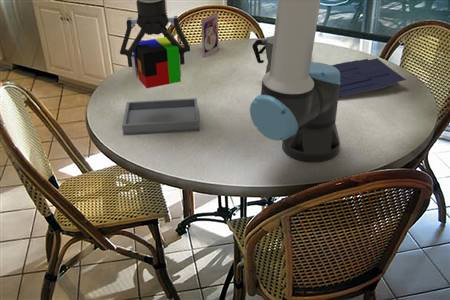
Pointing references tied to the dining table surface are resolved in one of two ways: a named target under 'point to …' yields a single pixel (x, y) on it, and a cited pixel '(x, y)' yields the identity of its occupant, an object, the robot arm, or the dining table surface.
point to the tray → (161, 116)
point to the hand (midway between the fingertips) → (157, 76)
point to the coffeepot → (269, 47)
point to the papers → (365, 76)
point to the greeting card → (210, 34)
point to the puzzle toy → (157, 62)
